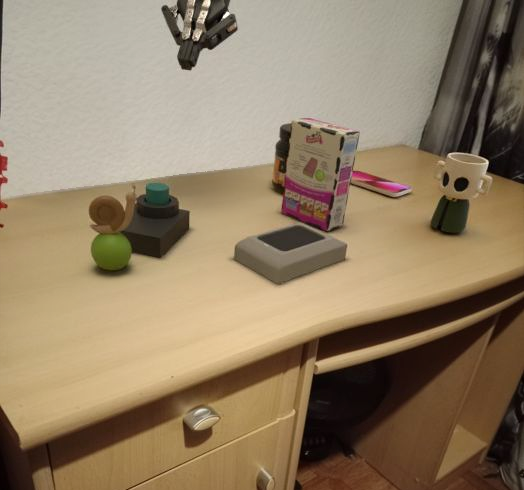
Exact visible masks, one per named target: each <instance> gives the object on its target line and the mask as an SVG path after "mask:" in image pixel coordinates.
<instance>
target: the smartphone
mask: <svg viewBox="0 0 524 490" xmlns="http://www.w3.org/2000/svg"><path fill="white" fill-rule="evenodd" d="M350 184H353V185H356V186H359V187H362V188H365V189H368V190H371V191H374V192H377V193H379V194H383V195H386V196H389V197H392V198H398V197H400V196H404V195H406V194H408V193H411V192H412V187H411V186H409V185H406V184H402V183H400V182H396V181H394V180H390V179H387V178H383V177H380V176H376V175H373V174H371V173H367V172H365V171H360V170H353V172H352V177H351V183H350Z"/></svg>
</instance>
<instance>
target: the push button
mask: <svg viewBox="0 0 524 490" xmlns="http://www.w3.org/2000/svg"><path fill="white" fill-rule="evenodd" d="M145 194H146V202H147V203H149V204H154V205H164V204H168V203H169V195H170V185H168V184H166V183H161V182H149V183H147V184H145Z"/></svg>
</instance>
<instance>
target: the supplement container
mask: <svg viewBox="0 0 524 490" xmlns="http://www.w3.org/2000/svg"><path fill="white" fill-rule="evenodd" d="M291 123H292V122H291ZM291 123H290V122H289V123H284V124H282V125H280V126H279V131H278V132H279V133H278V138H279V139H278V140H277V141H276V143H275V145H274V150H275V151H274V161H273V162H274V163H273V171H272V179H271V186H272V188H273V189H274V190H275V191H277V192H278V193H280V194H282V195H283V192H284V183H285V175H286V166H287V157H288V149H289V140H290V131H291Z"/></svg>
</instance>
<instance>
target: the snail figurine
mask: <svg viewBox="0 0 524 490" xmlns="http://www.w3.org/2000/svg"><path fill="white" fill-rule="evenodd" d="M131 187H132V189H133V191H129V192H127V193H126V195H125V199H126V204H125V208H124V206H123V204H122V202H120V201H119V200H118V199H117V198H115V197H114V196H111V195H100V196H97V197H95V198H93V200H92V201H91V203H90V204H89V207H88V215H89V218H90V219H91V221H92V222H93V223H95V224H90V225H89V227H90V229H92V230H93V231H94V232H96V233H98V234H97V235H96V236H95V237H94V238H93V239H92V242H91V245H90V255H91V257H92V259H93V261H94V263H95V264H96V265H98V266H99V267H100V268H102V269H104V270H107V271H117V270H121V269H123V268H124V267H125V266H127V265H128V263H129V262H130V261H131V258H132V253H133V252H132V248H131V245H130V242H129V240H128V239H127V238H126V237H125V236H124V235H123V234H121V233H119V232H120V231H122V230H124V229H126V228H127V227H128V226H129V224H130V222H131V220H132V217H133V212H134V207H135V203H136V198H137V197H138V196H137V194H136V189H137V184H136V183H135V182H132V183H131ZM124 211H125V212H124Z"/></svg>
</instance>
